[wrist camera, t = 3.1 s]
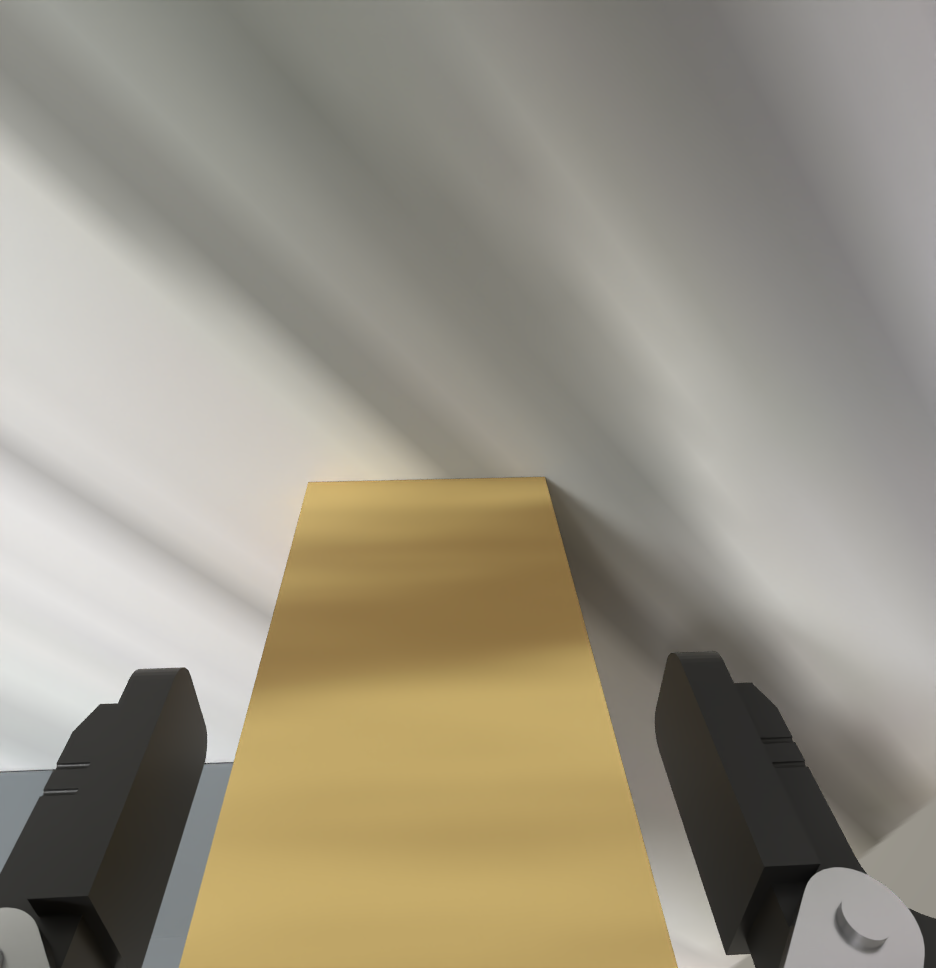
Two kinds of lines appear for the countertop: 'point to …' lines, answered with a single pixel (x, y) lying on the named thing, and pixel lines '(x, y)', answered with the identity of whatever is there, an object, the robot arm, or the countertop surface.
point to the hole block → (13, 795)
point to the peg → (428, 752)
